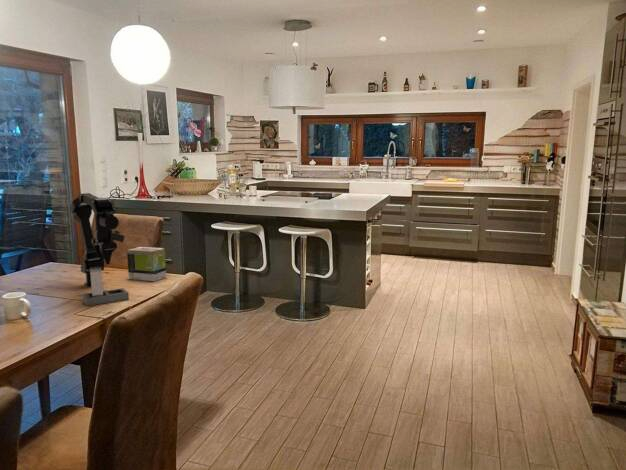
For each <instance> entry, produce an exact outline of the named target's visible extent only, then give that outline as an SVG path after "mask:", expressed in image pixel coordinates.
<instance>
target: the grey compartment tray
mask: <svg viewBox="0 0 626 470" xmlns="http://www.w3.org/2000/svg"><path fill="white" fill-rule="evenodd" d="M81 296H82V302H83V304H84V305H85V306H86V305H87V306H86V307H91V306H97V305H98V306H99V305H102V304H103V305H104V304H109V303H116V302H121V301H126V300H127V301H128V300H129V299H130V297H129V292H128V291H127V290H126V289H125V288H123V287H122V288H115V289H109V290H103V296H98V297H92V292H90V293H89V292H88V293H83V294H82V295H81Z"/></svg>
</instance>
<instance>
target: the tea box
mask: <svg viewBox="0 0 626 470" xmlns="http://www.w3.org/2000/svg"><path fill="white" fill-rule="evenodd" d="M165 250H166V249H165V248H164V247H148V246H139V247H135V248H134V247H133V248H130V249H129V248H128V249H126V256H127V271H128V273H127V274H128V279H129V280H136V281H148V282H157V281H159V280H162V279H165V278H166V277H167V271H166V270H167V268H166V267H167V266H166V265H167V263H166V251H165Z"/></svg>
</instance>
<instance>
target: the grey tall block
mask: <svg viewBox="0 0 626 470" xmlns="http://www.w3.org/2000/svg"><path fill="white" fill-rule="evenodd" d="M102 272H103V271H102V269H101V267H94V268H90V273H91V286H90V288H91V293H92V297H98V296H103V291H104V286H103V273H102Z"/></svg>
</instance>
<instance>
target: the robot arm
mask: <svg viewBox="0 0 626 470" xmlns="http://www.w3.org/2000/svg"><path fill="white" fill-rule="evenodd" d="M70 211H71V213H72V217H73V219H74V220H76V221H77V223H78V224H79V226H78V227H79V230H80V235H81V239H82V243H83V248H84V254H83V256H82V261H81V266H80V271H81V273H83V274H85V279H86V281H85V282H84V285H85V286H87V287H91V273H90V268H94V267H101V269H102V272H103V271H104V270H105V263H106V265H110V263H111V259H112V254H113V253H114V252H115V251H116V250H117V249H118V243H117V242H119V243H124V240H125V237H126V235H124V234H121V233H120V231H118V230H116V229H117V228H118V226H119V225H120V224H119V222H120V221H119V219H118V217H117V216H116V215H114V214H116V209H115V207H114V204H113V202H112V200H111V199H110V198H109V197H98V196H96V195H93V194H92V193H89V192H88V193H87V192H86V193H78V196H77V197H76V198H75V199H73V200H72V202H71V204H70ZM92 214H93V216H94V221H95V225H94V226H95V229H94V232H95V237H94V234H93V230H92V224H91V221H90V218H91V216H92ZM115 241H117V242H115Z"/></svg>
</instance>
